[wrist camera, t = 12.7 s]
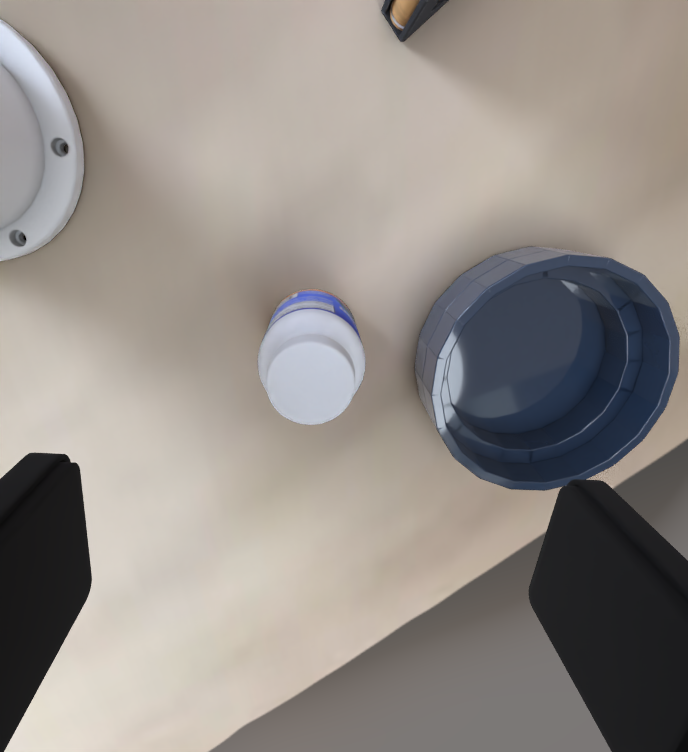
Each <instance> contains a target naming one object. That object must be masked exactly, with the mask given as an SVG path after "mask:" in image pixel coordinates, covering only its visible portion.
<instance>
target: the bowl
mask: <svg viewBox="0 0 688 752" xmlns="http://www.w3.org/2000/svg"><path fill="white" fill-rule="evenodd" d="M679 341H680V337H679V333H678V330H677V327H676V324H675V321H674V318H673V315H672V312H671V309H670V306H669V303H668V302H667V300H666V299H665V298H664V297H663V296H662V295H661V293H660V292H659V291H658V290H657V289H656V288H655V287H654V285H653V284H652V283H651V282H650V281H649V280H648V279H647V277H646V276H645V275H643V274H642V273H640V272H638V271H636V270H634V269H632V268H630V267H628V266H625V265H623V264H621V263H619V262H617V261H615V260H613V259H611V258H608V257H603V256H597V255H592V254H587V253H582V252H577V251H572V250H566V249H557V248H546V247H534V246H530V247H525V248H521V249H517V250H513V251H509V252H504V253H500V254H496V255H494V256H492V257H490V258H488V259H487V260H485V261H483V262H482V263H480V264H478V265H477V266H475V267H473V268H472V269H470V270H468V271H467V272H465V273H463V274H462V276H461V275H460V276H459V277H458V278H457V279H456V280H455V282H454V283H453V284H452V285H451V286H450V287H449V288H448V289H447V290H446V291H445V292H444V294H443V295H442V296H441V297H440V298H439V299H438V300H437V301H436V302H435V304H434V306H433V308H432V310H431V312H430V314H429V316H428V318H427V320H426V322H425V324H424V326H423V328H422V330H421V332H420V336H419V341H418V348H417V354H416V361H415V375H416V380H417V385H418V390H419V396H420V399H421V401H422V403H423V405H424V407H425V409H426V411H427V412H428V414H429V416H430V418H431V420H432V422H433V423H434V425H435V427H436V429H437V431H438V432H439V434H440V436H441V438H442V439H443V441H444V443H445V444H446V446H447V448H448V449H449V451H450V453H451V454H452V456H453V457H454V458H455V459H456V460H457V461H458V462H460V463H461V464H462V465H463V466H465V467H466V468H467V469H468V470H470V471H471V472H472V473H473V474H475V475H476V476H477V477H479V478H480V479H483V480H486V481H489V482H492V483H494V484H497V485H500V486H503V487H506V488H509V489H519V490H549V489H554V488H558V487H562V486H566V485H567V484H568V483H569V482H570V481H571V480H574V479H580V480H586V479H588V478H590V477H592V476H594V475H596V474H598V473H600V472H602V471H604V470H606V469H608V468H609V467H611V466H613V465H614V464H616V463H617V462H618V461H620V460H621V459H622V458H623V457H624V456H625V455H626V454H628V453H629V452H630V451H631V450H632V449H633V448H635V447H636V446H637V445H638V444H639V443H640V442H642V441H643V439H644V438H645V437H646V436H647V434H648V433H649V431H650V430H651V428H652V427H653V426H654V424H655V423H656V421H657V420H658V418H659V417H660V416H661V414H662V413H663V411H664V410H665V408H666V406H667V403H668V400H669V397H670V395H671V392H672V389H673V386H674V383H675V381H676V378H677V375H678V371H679Z"/></svg>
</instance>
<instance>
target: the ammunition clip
mask: <svg viewBox="0 0 688 752" xmlns="http://www.w3.org/2000/svg"><path fill="white" fill-rule="evenodd" d="M447 1H449V0H385V2H384V5H383V7H382V10H381V11H382V13H383V15H384V16H385V18H386V19H387V21H388V22H389V24H390V26H391V27H392V29H393V30H394V32H395V33H396V35H397V37H398V38H399V40H400V41H401V42H403V41H405V40H406V39H407V38H408V37H409V36H411V35H412V34H413V33H414V32H415V31H416V30H417V29H418V28H419V27H420V26H421V25H422V24H424V23H425V22H426V21H427V20H428V19H429V18H430V17H431V16H432V15H433V14H434V13H435V12H437V11H438V10H439V9H440V8H441V7H442V6H443V5H444V4H445V3H446V2H447Z"/></svg>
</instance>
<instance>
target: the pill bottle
mask: <svg viewBox="0 0 688 752" xmlns="http://www.w3.org/2000/svg"><path fill="white" fill-rule="evenodd" d="M365 363H366V362H365V353H364V349H363V345H362V342H361V339H360V336H359V333H358V330H357V327H356V324H355V321H354V318H353V316H352V313H351V312H350V310H349V309H348V307H347V306H346V305H345V303H344V302H343V301H342V300H341V299H339V298H338V297H337V296H335V295H333V294H331V293H329V292H326V291H323V290H318V289H305V290H301V291H297V292H295V293H293V294H291V295H289V296H287V297H286V298H285V299H284V300H283V301H282V302H281V303H280V304H279V305H278V306H277V308H276V310H275V311H274V313H273V316H272V318H271V321H270V324H269V326H268V329H267V331H266V333H265V336H264V338H263V340H262V343H261V346H260V349H259V353H258V372H259V376H260V379H261V382H262V384H263V386H264V388H265V390H266V391H267V394H268V397H269V400H270V402H271V403H272V405H273V407H274V408H275V409H276V410H277V411H278V412H279V413H280V414H281V415H282V416H284V417H285V418H287V419H289V420H291V421H293V422H296V423H299V424H305V425H316V424H322V423H325V422H328V421H330V420H332V419H334V418H336V417H337V416H339V415H340V414H341V413H342V412H343V411H344V410H345V409H346V408H347V407H348V405H349V404H350V402H351V400H352V397H353V396H354V394H355V393H356V391H357V390H358V388H359V387H360V385H361V382H362V380H363V377H364V373H365Z"/></svg>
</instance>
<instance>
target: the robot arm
mask: <svg viewBox="0 0 688 752" xmlns="http://www.w3.org/2000/svg"><path fill="white" fill-rule="evenodd" d="M65 144H67V145H68V147H69V150H68V153H66V152H65V151H64V146H65ZM83 175H84V153H83V142H82V138H81V133H80V129H79V125H78V120H77V117H76V115H75V112H74V110H73V108H72V105H71V103H70V100H69V98H68V95H67V93H66V91H65V90H64V88H63V86H62V85H61V83H60V81H59V80H58V78H57V76H56V75H55V73H54V71H53V70H52V68H51V67H50V66H49V65H48V63H47V62H46V61H45V60H44V59H43V57H42V56H41V55H40V54H39V53H38V51H37V50H36V49H35V48H34V46H33V45H31V44H30V43H29V42H28V41H27V40H26V39H25V38H24V37H23V36H21V35H20V34H19V33H18V32H17V31H16V30H15V29H14V28H13V27H11V26H10V25H9V24H7V23H6V22H4V21H2V20H1V19H0V261H4V260H10V259H14V258H17V257H20V256H23V255H26V254H29V253H32V252H34V251H35V250H37V249H39V248H40V247H42V246H44V245H45V244H47V243H49V242H50V241H51V240H52V239H53V238H54V237H55V236H56V235H57V234H58V233H59V232H60V231H61V230H62V229H63V228H64V226H65V225H66V223H67V222H68V220H69V218H70V217H71V215H72V214H73V212H74V210H75V207H76V204H77V202H78V199H79V196H80V193H81V189H82V182H83ZM23 234H24V235H25V237H26V240H24V238H23ZM91 582H92V576H91V566H90V557H89V548H88V539H87V530H86V520H85V511H84V502H83V493H82V484H81V475H80V468H79V466H78V464H77V463H71V462H70V459H69V457H68V456H67V455H65V454H50V453H29V454H28V455H26V456H25V457H24V458H23V459H22V460H20V461H19V462H18V463H17V464H16V465H15V466H14V467H13V468H12V469H11V470H10V471H9V472H7V473H6V474H5V475H4V476H3V477H2V478H1V479H0V752H4V750H5V749H6V747H7V745H8V743H9V741H10V739H11V738H12V736H13V734H14V732H15V730H16V728H17V727H18V725H19V723H20V721H21V719H22V717H23V716H24V714H25V712H26V710H27V708H28V706H29V705H30V703H31V701H32V699H33V697H34V695H35V694H36V692H37V690H38V688H39V686H40V684H41V682H42V681H43V679H44V677H45V675H46V673H47V671H48V670H49V668H50V666H51V664H52V662H53V660H54V659H55V657H56V655H57V653H58V651H59V649H60V648H61V646H62V644H63V642H64V640H65V638H66V637H67V635H68V633H69V631H70V629H71V627H72V625H73V624H74V622H75V620H76V618H77V616H78V614H79V613H80V611H81V609H82V607H83V605H84V603H85V602H86V600H87V597H88V595H89V592H90V588H91ZM529 599H530V603H531V606H532V608H533V610H534V612H535V613H536V615H537V617H538V619H539V621H540V622H541V624H542V626H543V628H544V630H545V632H546V633H547V635H548V637H549V639H550V641H551V642H552V644H553V646H554V648H555V649H556V651H557V653H558V655H559V657H560V658H561V660H562V662H563V664H564V666H565V667H566V670H567V671H568V673H569V675H570V677H571V679H572V680H573V682H574V684H575V686H576V688H577V689H578V691H579V693H580V695H581V697H582V698H583V700H584V702H585V704H586V706H587V708H588V709H589V711H590V713H591V715H592V717H593V718H594V720H595V722H596V724H597V726H598V728H599V729H600V731H601V733H602V735H603V737H604V738H605V740H606V742H607V744H608V746H609V747H610V749H611V751H612V752H688V561H687V560H686V559H685V558H684V557H683V556H682V555H681V554H680V553H679V552H678V551H677V550H676V549H675V548H674V547H673V546H672V545H671V544H670V543H668V542H667V541H666V540H665V539H664V538H663V537H662V536H661V535H660V534H659V533H658V532H657V531H656V530H655V529H654V528H653V527H652V526H651V525H649V523H647V522H646V521H645V520H644V519H643V518H642V517H641V516H640V515H639V514H638V513H637V512H636V511H635V510H634V509H633V508H632V507H631V506H630V505H629V504H628V503H627V502H625V501H624V500H623V499H622V498H621V497H620V496H619V495H618V494H617V493H616V492H615V491H614V490H613V489H612V488H611V487H610V486H609V485H608V484H606V483H605V482H603V481H599V480H580V479H574V480H571V481H570V482H569V483H568V484H567V486H564V487H562V488H561V489H560V491H559V494H558V497H557V500H556V503H555V507H554V510H553V513H552V516H551V519H550V522H549V526H548V529H547V532H546V535H545V539H544V542H543V545H542V548H541V551H540V555H539V558H538V561H537V564H536V567H535V571H534V574H533V577H532V580H531V584H530V586H529Z"/></svg>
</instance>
